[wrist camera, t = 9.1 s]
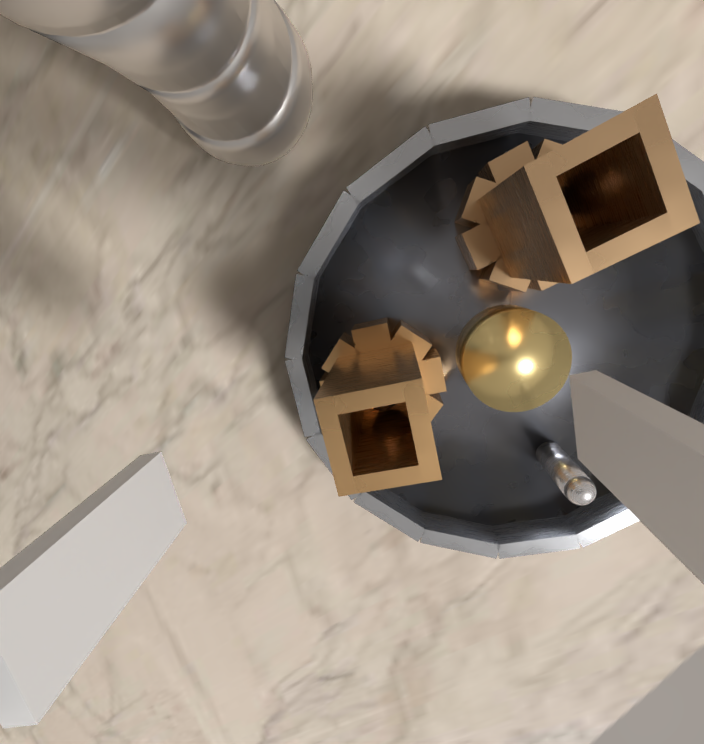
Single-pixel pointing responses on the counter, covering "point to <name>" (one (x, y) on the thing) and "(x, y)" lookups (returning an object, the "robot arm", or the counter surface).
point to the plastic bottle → (196, 64)
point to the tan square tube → (576, 203)
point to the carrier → (497, 337)
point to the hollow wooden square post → (375, 389)
